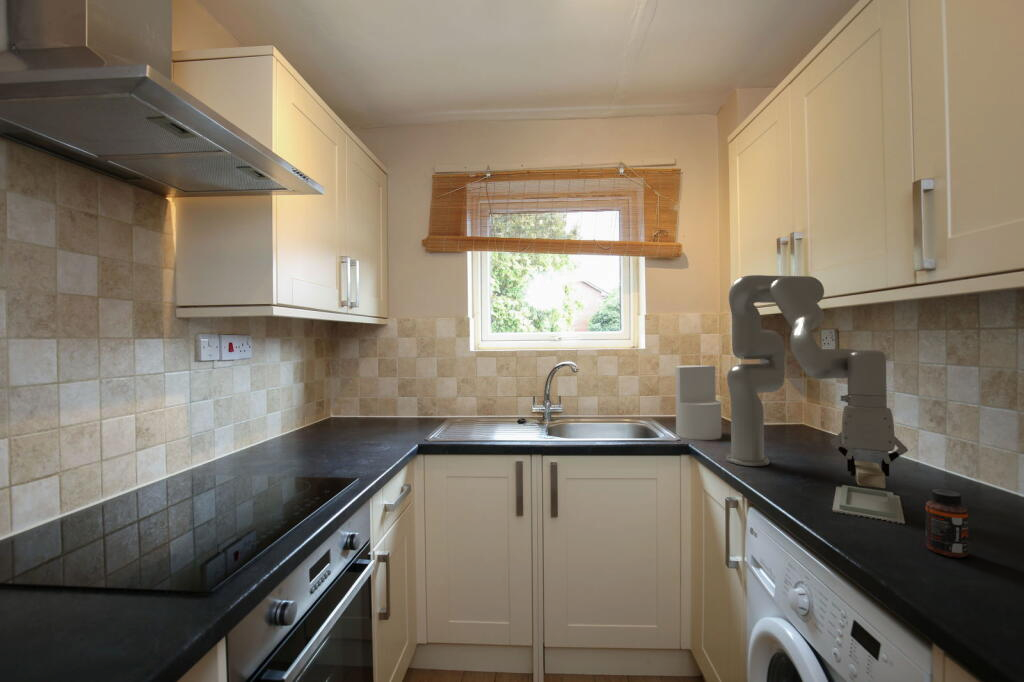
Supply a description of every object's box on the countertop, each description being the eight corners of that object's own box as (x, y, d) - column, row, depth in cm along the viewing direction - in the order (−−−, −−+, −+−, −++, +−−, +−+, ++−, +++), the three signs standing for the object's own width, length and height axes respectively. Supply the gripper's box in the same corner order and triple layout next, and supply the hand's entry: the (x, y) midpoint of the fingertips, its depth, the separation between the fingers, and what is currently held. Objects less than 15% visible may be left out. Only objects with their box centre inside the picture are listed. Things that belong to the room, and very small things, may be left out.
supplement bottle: (970, 562, 86) (970, 499, 86) (927, 553, 89) (927, 493, 89) (965, 550, 90) (965, 491, 90) (924, 542, 94) (924, 485, 94)
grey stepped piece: (667, 432, 200) (666, 366, 199) (701, 429, 205) (701, 364, 204) (694, 441, 183) (694, 369, 183) (731, 437, 188) (730, 367, 188)
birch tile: (858, 485, 110) (858, 472, 110) (852, 472, 121) (852, 460, 121) (885, 488, 108) (885, 475, 108) (877, 474, 118) (877, 462, 118)
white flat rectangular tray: (836, 488, 127) (836, 482, 127) (899, 497, 119) (899, 491, 119) (832, 511, 111) (832, 505, 110) (904, 524, 103) (904, 517, 103)
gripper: (823, 401, 116) (824, 475, 116) (914, 406, 106) (915, 487, 106) (825, 397, 122) (826, 468, 122) (912, 402, 112) (913, 478, 112)
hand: (868, 476), depth 114 cm, fingers closed on birch tile, 5 cm apart
